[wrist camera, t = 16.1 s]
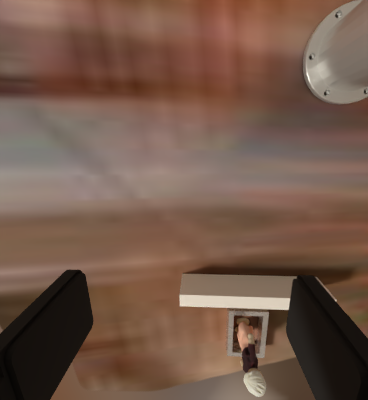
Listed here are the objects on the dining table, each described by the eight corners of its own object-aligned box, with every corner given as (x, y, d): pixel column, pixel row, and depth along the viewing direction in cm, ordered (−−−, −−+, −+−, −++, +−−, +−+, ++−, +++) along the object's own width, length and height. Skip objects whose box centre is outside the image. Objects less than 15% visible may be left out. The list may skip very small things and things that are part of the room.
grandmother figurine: (251, 338, 45) (270, 411, 33) (233, 338, 45) (246, 410, 33) (251, 309, 43) (272, 375, 31) (232, 309, 43) (245, 375, 31)
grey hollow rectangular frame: (265, 302, 42) (268, 312, 40) (260, 346, 45) (264, 357, 43) (227, 301, 43) (229, 310, 40) (225, 344, 46) (227, 355, 43)
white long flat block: (316, 276, 40) (336, 299, 34) (315, 287, 40) (334, 311, 35) (182, 273, 42) (179, 294, 36) (182, 283, 42) (179, 305, 37)
